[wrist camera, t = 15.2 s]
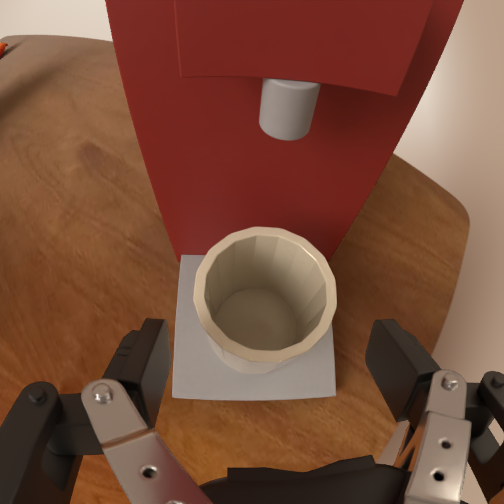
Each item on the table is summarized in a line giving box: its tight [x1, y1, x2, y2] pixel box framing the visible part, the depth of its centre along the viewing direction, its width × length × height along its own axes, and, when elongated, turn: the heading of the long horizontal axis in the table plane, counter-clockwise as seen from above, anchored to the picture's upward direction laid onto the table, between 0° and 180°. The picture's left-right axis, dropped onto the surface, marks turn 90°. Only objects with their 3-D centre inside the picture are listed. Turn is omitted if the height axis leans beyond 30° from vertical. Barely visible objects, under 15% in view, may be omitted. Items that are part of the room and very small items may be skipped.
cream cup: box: [193, 227, 337, 375], centre depth 17 cm, size 6×6×8 cm
